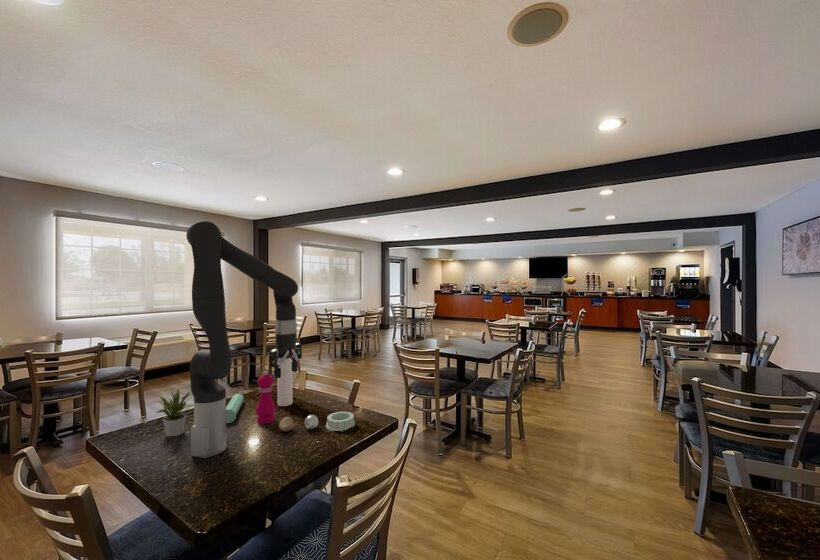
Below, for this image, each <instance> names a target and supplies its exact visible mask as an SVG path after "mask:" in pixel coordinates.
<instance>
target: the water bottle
mask: <svg viewBox="0 0 820 560" xmlns="http://www.w3.org/2000/svg"><path fill="white" fill-rule="evenodd" d="M272 350H277V348H273V349H272ZM279 359H281V358H279ZM278 364H279V362H278ZM280 368H281V378H276V379H277V380H276V381H277V382H276V383H277V387H276V389H277V406H278V407H279V406H280V407H288V406H291V405H292V404H294V403H293V402H294V400H293V399H294V398H293V388H294V387H293V386H294V385H293V383H294V382H293V371H292V360H291V358H288V359H286V360H285V361H284V362H283V363H282V365H281V367H280Z"/></svg>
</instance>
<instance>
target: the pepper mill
mask: <svg viewBox="0 0 820 560" xmlns="http://www.w3.org/2000/svg"><path fill="white" fill-rule="evenodd" d="M274 382H275V381H274V377H273V376H272V375H270V374H269V372H268V370H264V371H263V373H262V375H260V376H259V377H258V378H257V385H258V392H259V399H258V402H257V405H256V406H255V407H256V408H255V414H256V415H257V417H256V422H257V424H261V425H266V424H269V423H273V422H274V421H275V415H274V414H275V411H276V404H275V402H274V400H273V398H272V391H273V384H274Z"/></svg>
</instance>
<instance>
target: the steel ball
mask: <svg viewBox="0 0 820 560" xmlns="http://www.w3.org/2000/svg"><path fill="white" fill-rule="evenodd" d="M318 424H319V418H318V417H317V416H316V415H314V414H309V415H307V416H306V417H305V419H304V426H305V427H306V429H308V430H313V429H315V428H316V427H317V426H318Z"/></svg>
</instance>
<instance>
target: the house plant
mask: <svg viewBox="0 0 820 560" xmlns="http://www.w3.org/2000/svg"><path fill="white" fill-rule="evenodd" d="M170 392H171V396H172V398H170V399H169V401H168V400H166V398H165V397H162V396H161V395H156V396H157V397H158V398H159V399H161V401H160V400H156V402H159V403H161V404H162V405H163V408H160V409H158V411H157V412H156V413H155V414H158V413H159V414H160V413H164V414H165V415H166V416H165V417H164V418H162V420H163V425H164V431H165V436H166V435H167V436H176V437H178V436H177V435H179V436H181V435H183V434H182V433H184V430H185V425H186V424H185V423H186V420H187V414H186V413H181V412H182V411H183V410H184V409H185V408H186V410H188V409H189V408H190V407H193V406H194V403H193V404H191V405H190V404H189V405H188V403H187V402H188V401H190V399H191V397H190V398H189V396H191V395H192V392H191V390H189V391H188V392H187V393H186V394H185V395H184V396H182V397H181V395H180V390H179V388H177V390H176V391H175V393H173V391H172V390H170ZM180 400H181V401H180ZM180 434H181V435H180ZM167 436H166V437H167Z"/></svg>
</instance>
